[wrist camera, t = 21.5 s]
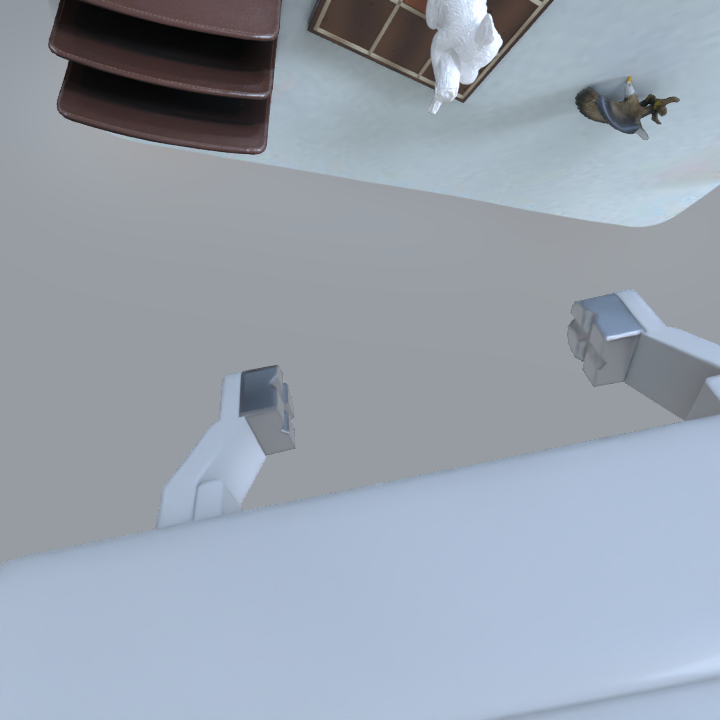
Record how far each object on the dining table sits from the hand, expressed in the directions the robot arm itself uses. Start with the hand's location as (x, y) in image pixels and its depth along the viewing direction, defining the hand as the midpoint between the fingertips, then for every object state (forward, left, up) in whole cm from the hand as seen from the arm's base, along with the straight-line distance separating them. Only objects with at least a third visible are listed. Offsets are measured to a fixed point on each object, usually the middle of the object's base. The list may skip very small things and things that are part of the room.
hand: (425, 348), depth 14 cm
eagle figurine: (-40, +17, -45) cm, 63 cm away
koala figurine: (-15, +15, -44) cm, 49 cm away
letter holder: (+8, +30, -45) cm, 55 cm away
